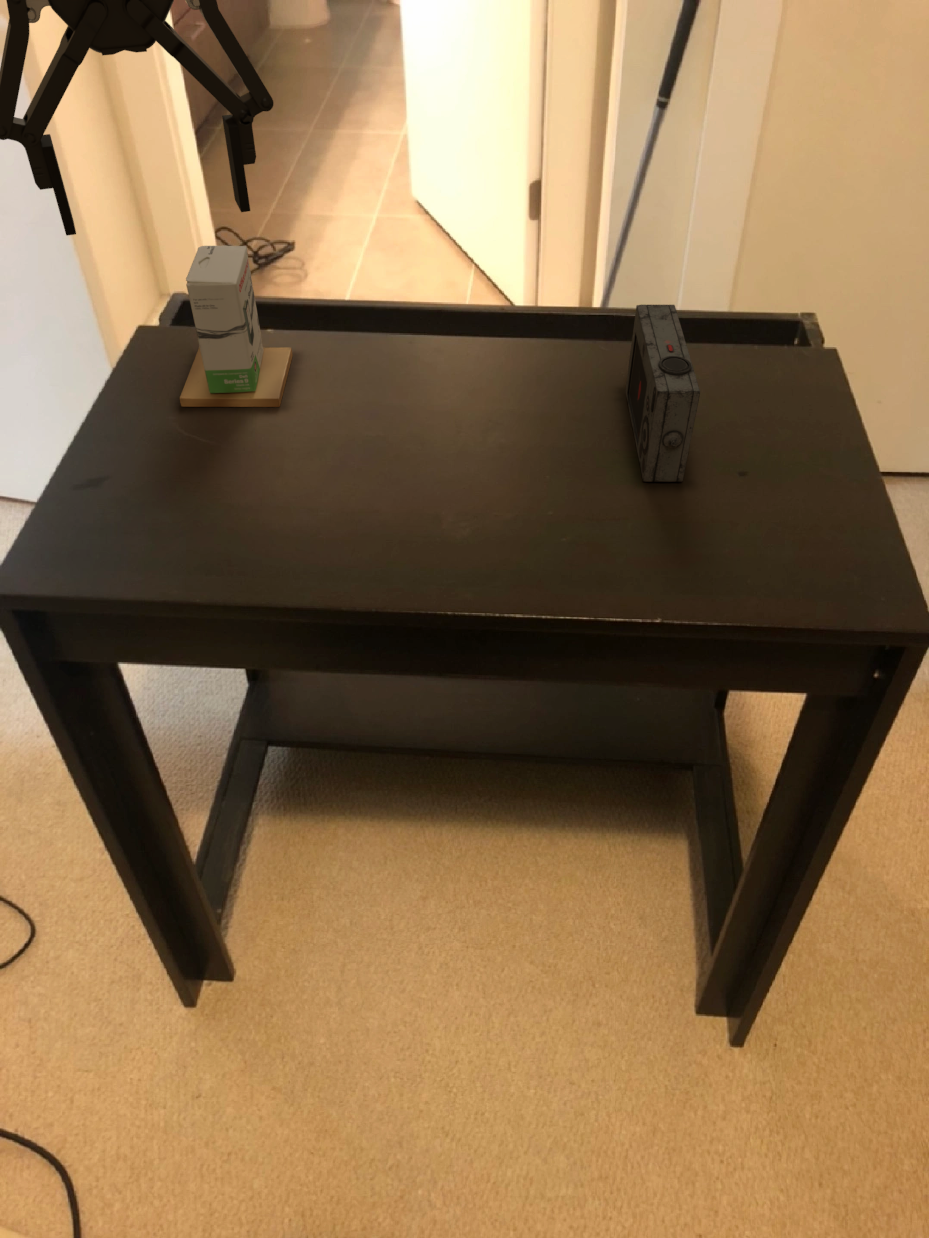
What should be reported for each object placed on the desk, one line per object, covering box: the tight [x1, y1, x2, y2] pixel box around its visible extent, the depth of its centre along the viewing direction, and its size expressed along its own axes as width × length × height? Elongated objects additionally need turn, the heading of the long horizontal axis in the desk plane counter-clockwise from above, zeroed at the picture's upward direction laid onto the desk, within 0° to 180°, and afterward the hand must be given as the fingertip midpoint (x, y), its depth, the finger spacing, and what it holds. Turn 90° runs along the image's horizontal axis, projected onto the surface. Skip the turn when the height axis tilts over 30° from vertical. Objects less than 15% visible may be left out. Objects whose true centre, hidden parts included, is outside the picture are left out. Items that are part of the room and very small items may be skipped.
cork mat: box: [179, 346, 293, 408], centre depth 103 cm, size 10×10×1 cm
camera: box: [624, 304, 701, 483], centre depth 92 cm, size 16×4×10 cm, turn 0°
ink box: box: [185, 245, 264, 393], centre depth 98 cm, size 9×5×12 cm, turn 2°
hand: (158, 217), depth 79 cm, fingers open, 13 cm apart
